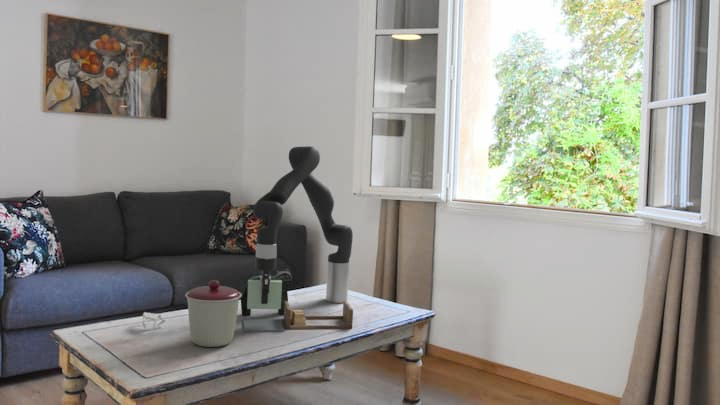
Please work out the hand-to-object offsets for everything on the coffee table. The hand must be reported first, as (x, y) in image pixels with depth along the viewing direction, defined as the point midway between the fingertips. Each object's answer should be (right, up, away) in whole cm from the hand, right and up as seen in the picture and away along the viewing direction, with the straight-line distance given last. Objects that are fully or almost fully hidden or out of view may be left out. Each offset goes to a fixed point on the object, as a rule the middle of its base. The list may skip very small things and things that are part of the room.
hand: (264, 302), depth 234 cm
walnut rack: (+19, -9, +8) cm, 23 cm away
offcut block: (+12, -9, +7) cm, 16 cm away
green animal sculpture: (-2, -8, +17) cm, 19 cm away
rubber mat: (0, -9, +1) cm, 9 cm away
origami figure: (-39, -8, -9) cm, 40 cm away
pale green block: (0, -2, 0) cm, 2 cm away
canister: (-14, -10, -22) cm, 28 cm away
